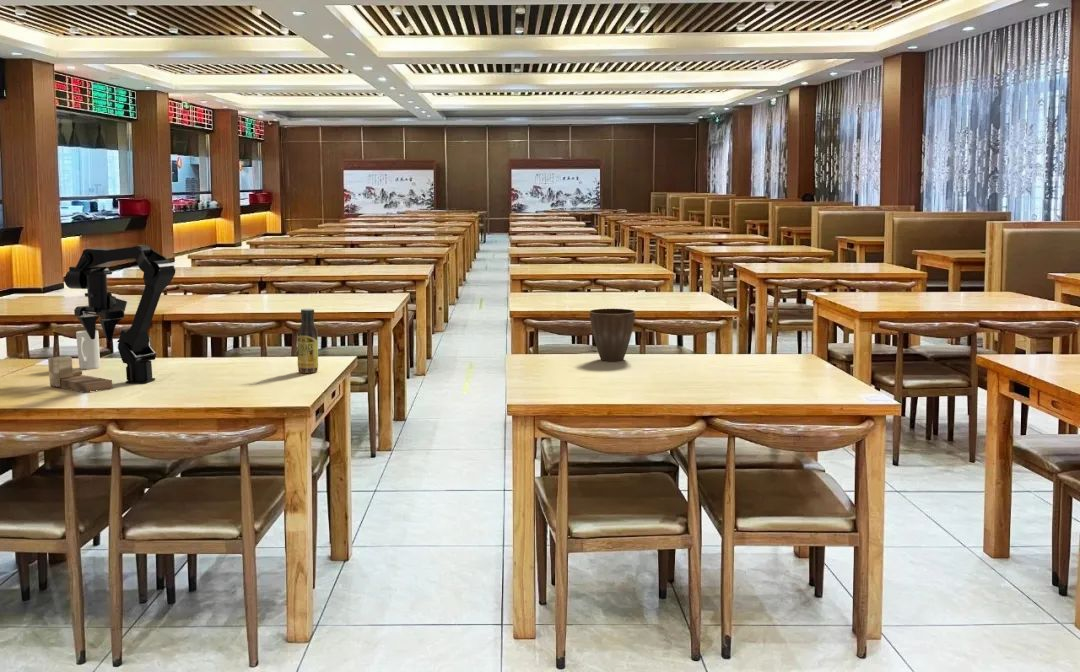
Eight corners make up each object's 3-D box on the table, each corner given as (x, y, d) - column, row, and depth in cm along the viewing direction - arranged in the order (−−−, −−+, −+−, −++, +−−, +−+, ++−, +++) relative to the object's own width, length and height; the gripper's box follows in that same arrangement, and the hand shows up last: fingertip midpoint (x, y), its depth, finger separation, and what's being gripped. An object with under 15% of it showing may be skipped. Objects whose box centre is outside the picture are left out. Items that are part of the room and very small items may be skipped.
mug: (83, 366, 359) (81, 330, 357) (104, 365, 359) (101, 329, 357) (70, 371, 349) (68, 334, 347) (91, 371, 349) (89, 334, 347)
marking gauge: (85, 382, 326) (83, 355, 324) (57, 386, 319) (54, 359, 318) (78, 380, 328) (76, 354, 327) (50, 385, 321) (47, 358, 320)
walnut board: (112, 388, 318) (111, 379, 317) (86, 392, 311) (86, 383, 311) (76, 381, 330) (75, 373, 329) (50, 385, 324) (50, 377, 323)
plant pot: (636, 356, 362) (636, 308, 360) (634, 363, 347) (633, 313, 345) (592, 355, 364) (591, 308, 362) (587, 363, 349) (587, 313, 347)
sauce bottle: (294, 373, 338) (291, 310, 335) (303, 370, 344) (300, 307, 341) (314, 374, 336) (311, 310, 334) (322, 370, 342) (319, 308, 340)
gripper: (138, 288, 331) (142, 339, 333) (105, 285, 342) (108, 335, 344) (104, 291, 322) (108, 344, 324) (71, 288, 333) (75, 339, 335)
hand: (101, 340), depth 332 cm, fingers open, 9 cm apart
